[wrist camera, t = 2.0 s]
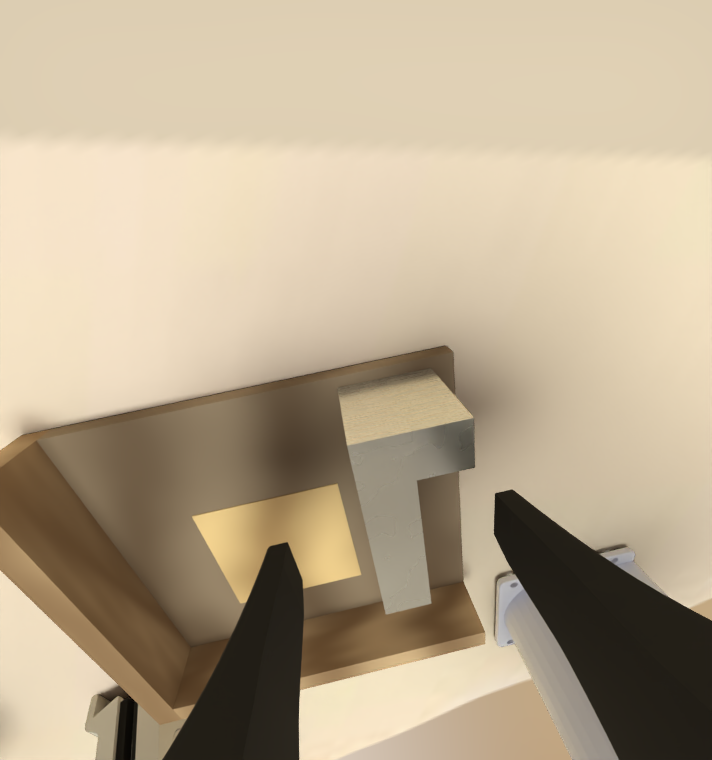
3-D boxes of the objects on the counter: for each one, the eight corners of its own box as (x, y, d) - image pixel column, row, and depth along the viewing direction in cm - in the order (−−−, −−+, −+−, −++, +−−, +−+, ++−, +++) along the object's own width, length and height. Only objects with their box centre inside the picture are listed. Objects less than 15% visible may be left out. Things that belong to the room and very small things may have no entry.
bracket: (337, 387, 13) (347, 445, 10) (430, 367, 14) (473, 417, 10) (370, 534, 17) (385, 614, 14) (442, 517, 17) (476, 592, 14)
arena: (446, 345, 14) (453, 352, 13) (458, 569, 21) (463, 582, 20) (51, 429, 13) (35, 441, 13) (195, 632, 20) (190, 648, 19)
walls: (446, 345, 14) (486, 380, 11) (458, 581, 21) (485, 643, 18) (21, 435, 13) (-71, 500, 10) (183, 647, 21) (159, 725, 17)
